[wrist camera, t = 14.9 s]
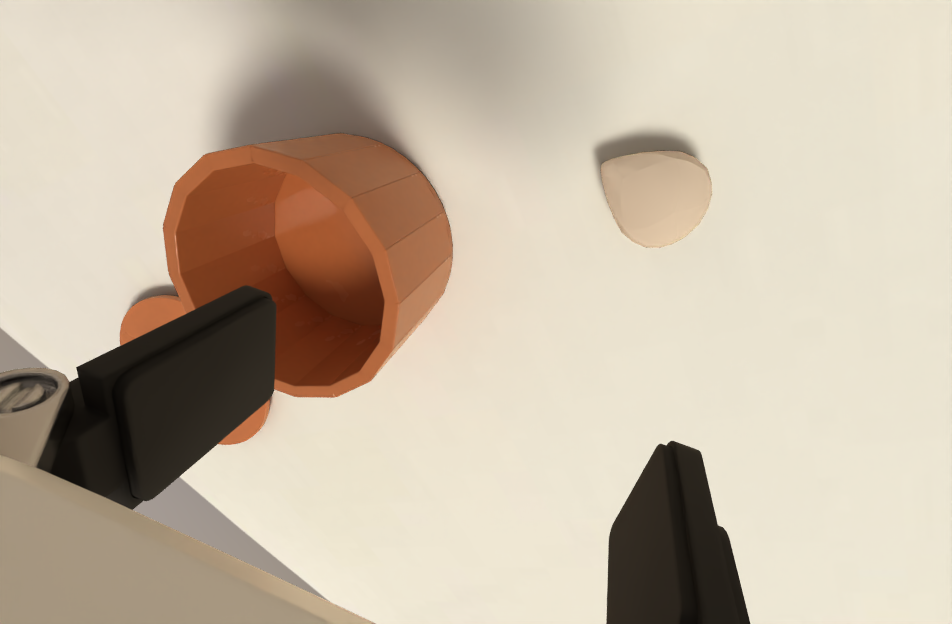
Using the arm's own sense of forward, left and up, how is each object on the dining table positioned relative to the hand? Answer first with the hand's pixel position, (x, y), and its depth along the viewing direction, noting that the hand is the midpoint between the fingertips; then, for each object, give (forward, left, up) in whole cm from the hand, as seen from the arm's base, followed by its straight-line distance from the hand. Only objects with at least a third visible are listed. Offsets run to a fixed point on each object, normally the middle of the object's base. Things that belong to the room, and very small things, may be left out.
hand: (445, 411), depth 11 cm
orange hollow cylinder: (+3, -10, -15) cm, 19 cm away
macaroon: (-4, +4, -16) cm, 16 cm away
